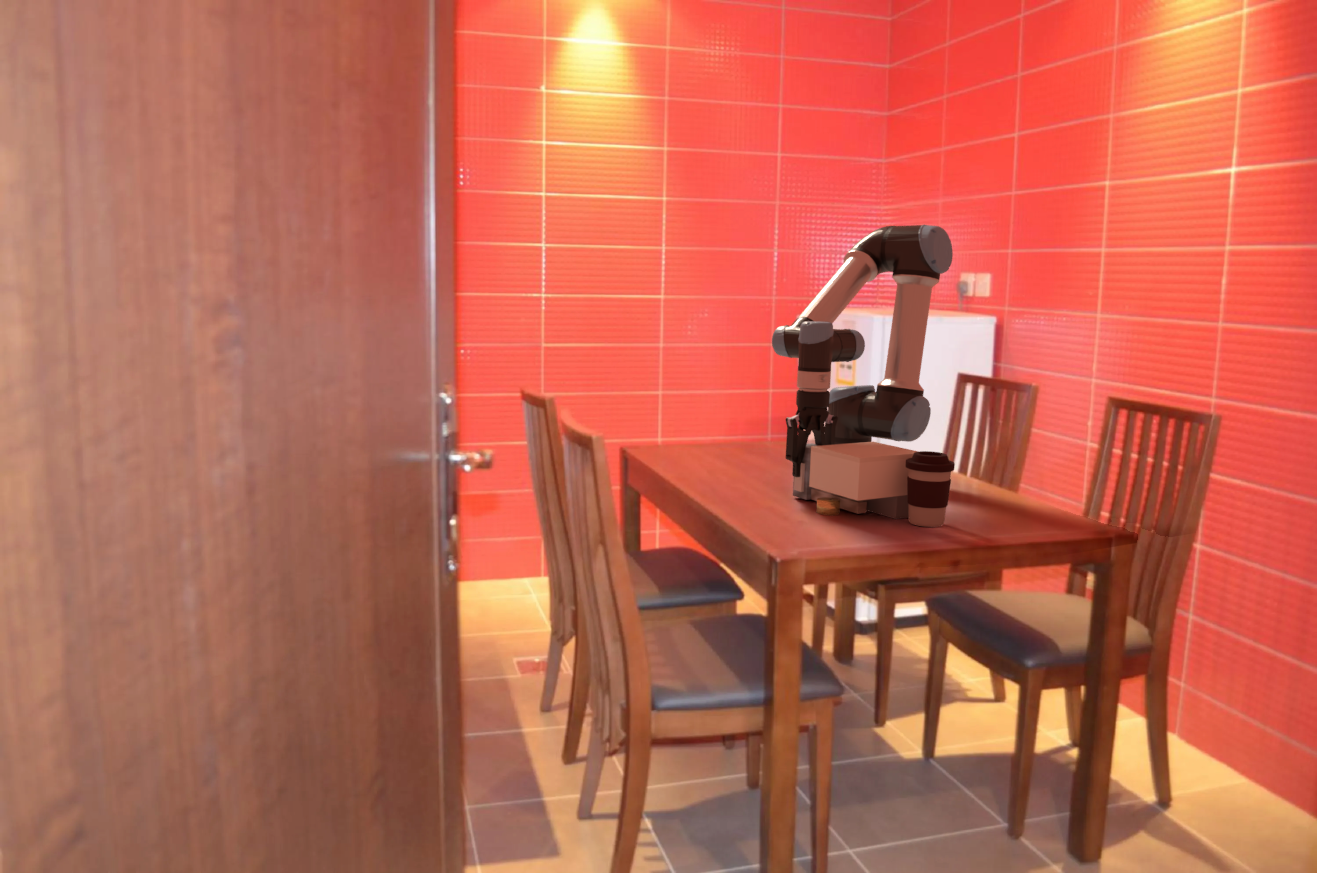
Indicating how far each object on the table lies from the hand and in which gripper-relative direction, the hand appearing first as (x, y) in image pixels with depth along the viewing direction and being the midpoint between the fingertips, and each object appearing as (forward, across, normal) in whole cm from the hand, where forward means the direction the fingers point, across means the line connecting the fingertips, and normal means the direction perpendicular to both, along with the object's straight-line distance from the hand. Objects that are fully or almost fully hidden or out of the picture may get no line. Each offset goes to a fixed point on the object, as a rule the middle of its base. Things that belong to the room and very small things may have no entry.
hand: (808, 489), depth 244 cm
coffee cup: (+2, +8, -30) cm, 31 cm away
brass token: (+2, -5, -13) cm, 14 cm away
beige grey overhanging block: (+2, +3, -16) cm, 16 cm away
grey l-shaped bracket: (+2, 0, -8) cm, 8 cm away
